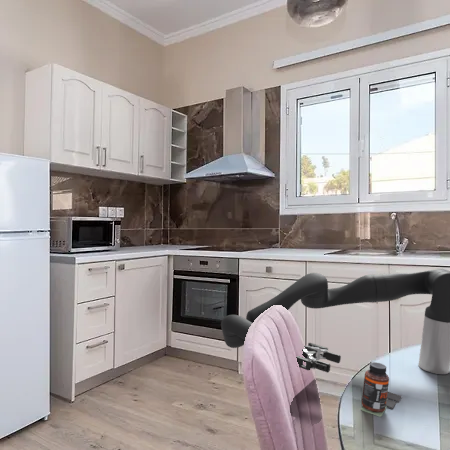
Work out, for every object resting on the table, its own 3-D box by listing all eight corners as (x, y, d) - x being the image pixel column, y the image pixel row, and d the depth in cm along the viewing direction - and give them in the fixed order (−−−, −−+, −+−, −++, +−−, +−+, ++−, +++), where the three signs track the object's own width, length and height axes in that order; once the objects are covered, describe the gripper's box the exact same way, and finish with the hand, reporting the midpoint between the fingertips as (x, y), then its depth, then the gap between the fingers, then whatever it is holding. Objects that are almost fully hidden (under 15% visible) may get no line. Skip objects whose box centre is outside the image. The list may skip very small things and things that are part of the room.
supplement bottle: (382, 416, 103) (388, 372, 102) (358, 407, 106) (363, 365, 105) (387, 406, 108) (392, 365, 107) (364, 399, 111) (369, 358, 110)
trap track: (375, 388, 119) (375, 387, 119) (401, 397, 115) (401, 395, 115) (360, 410, 106) (360, 408, 106) (389, 420, 102) (389, 418, 102)
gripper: (271, 339, 114) (328, 357, 106) (292, 328, 126) (345, 344, 117) (268, 366, 115) (324, 386, 106) (289, 352, 127) (341, 369, 118)
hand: (335, 363), depth 112 cm, fingers open, 8 cm apart
